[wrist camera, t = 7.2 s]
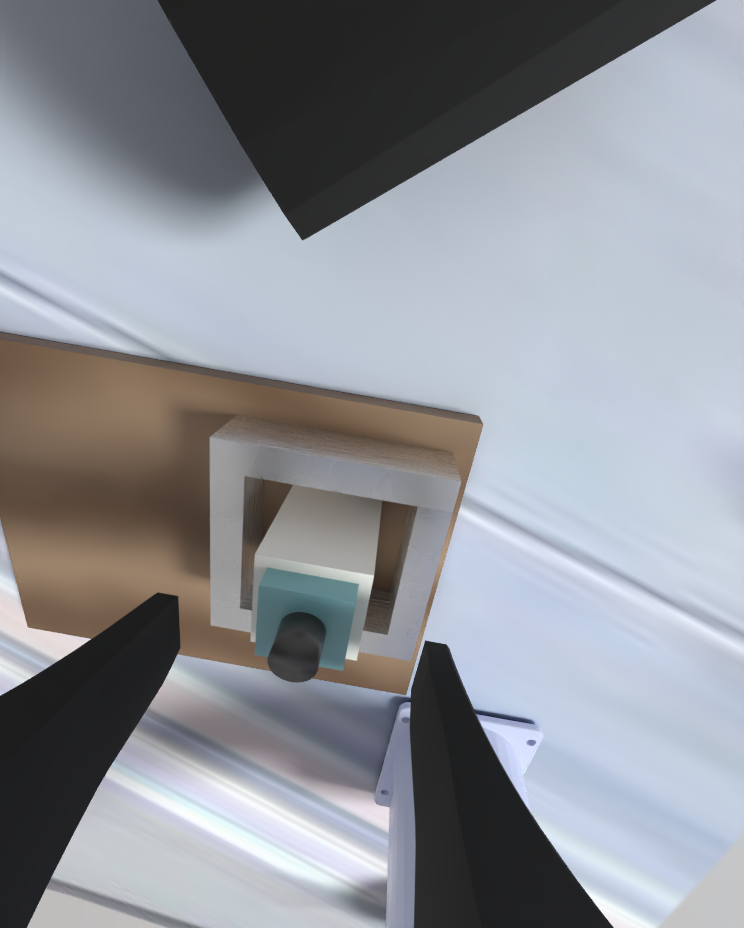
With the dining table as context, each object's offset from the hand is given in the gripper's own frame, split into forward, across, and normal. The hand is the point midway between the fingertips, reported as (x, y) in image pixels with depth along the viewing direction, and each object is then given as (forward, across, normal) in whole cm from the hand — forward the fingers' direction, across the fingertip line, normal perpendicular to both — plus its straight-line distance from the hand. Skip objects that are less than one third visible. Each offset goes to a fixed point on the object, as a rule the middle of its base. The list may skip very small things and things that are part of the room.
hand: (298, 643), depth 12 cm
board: (+7, +5, +2) cm, 9 cm away
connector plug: (+6, 0, 0) cm, 6 cm away
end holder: (+6, 0, 0) cm, 6 cm away
